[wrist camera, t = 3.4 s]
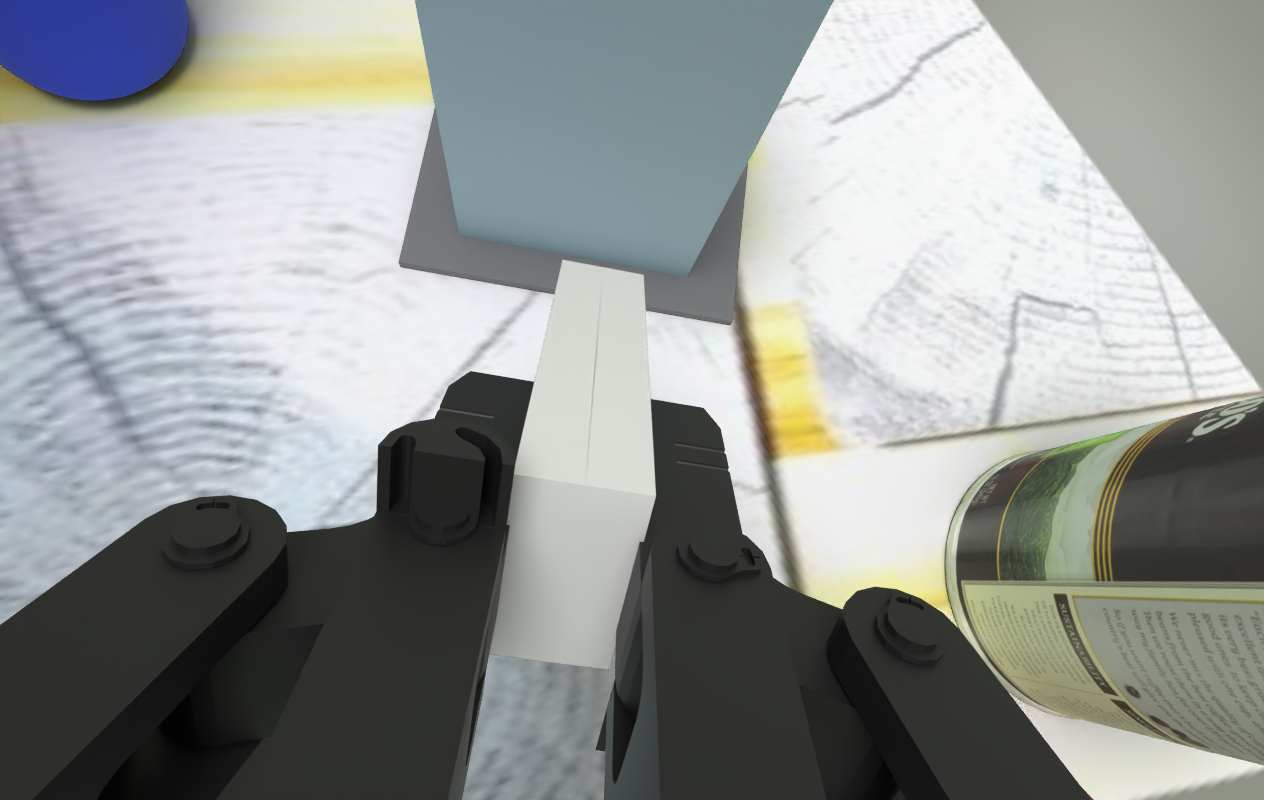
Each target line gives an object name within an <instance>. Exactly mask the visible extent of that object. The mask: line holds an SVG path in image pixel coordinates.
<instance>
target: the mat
mask: <svg viewBox="0 0 1264 800" xmlns="http://www.w3.org/2000/svg"><path fill="white" fill-rule="evenodd" d="M747 167H748V163H747V165H746V166H745V168H744V170H743V172H742V174H741V176H740V178H739V180H738V182H737V183H736V185H735V187H734V189H733V191H732V193H731V195H730V197H729V199H728V200H727V202H726V204H725V206H724V208H723V210H722V212H721V214H720V216H719V217H718V219H717V221H716V223H715V225H714V227H713V229H712V231H711V233H710V234H709V236H708V238H707V240H706V242H705V244H704V246H703V248H702V249H701V251H700V253H699V255H698V257H697V259H696V261H695V263H694V265H693V266H692V268H691V270H690V272H689V274H688V276H687V277H683V276H678V275H672V274H667V273H661V272H656V271H650V270H645V269H639V268H634V267H629V266H623V265H618V264H612V263H607V262H601V261H596V260H590V259H585V258H579V257H574V256H568V255H563V254H557V253H552V252H547V251H541V250H536V249H530V248H525V247H519V246H514V245H508V244H503V243H497V242H492V241H486V240H481V239H475V238H470V237H465V236H459V230H458V225H457V220H456V214H455V209H454V204H453V199H452V193H451V188H450V183H449V177H448V172H447V167H446V162H445V156H444V151H443V146H442V140H441V135H440V130H439V125H438V119H437V114H436V109H435V110H434V114H433V118H432V122H431V127H430V131H429V135H428V140H427V144H426V148H425V152H424V157H423V161H422V165H421V169H420V174H419V178H418V182H417V186H416V191H415V195H414V199H413V204H412V208H411V212H410V216H409V221H408V225H407V229H406V233H405V238H404V242H403V246H402V250H401V255H400V259H399V264H400V267H405V268H411V269H417V270H422V271H428V272H434V273H439V274H445V275H451V276H456V277H462V278H468V279H473V280H479V281H485V282H490V283H496V284H502V285H507V286H513V287H519V288H524V289H530V290H535V291H541V292H547V293H552V294H555V290H556V286H557V282H558V277H559V273H560V269H561V264H562V260H567V261H572V262H578V263H583V264H589V265H594V266H599V267H605V268H610V269H615V270H621V271H626V272H631V273H637V274H642V275H644V291H645V308H646V310H648V311H654V312H660V313H665V314H671V315H677V316H682V317H688V318H694V319H699V320H705V321H711V322H716V323H722V324H728V325H730V323H731V322H732V318H733V308H734V298H735V288H736V278H737V268H738V258H739V248H740V238H741V227H742V217H743V207H744V197H745V187H746V177H747Z"/></svg>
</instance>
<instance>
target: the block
mask: <svg viewBox="0 0 1264 800" xmlns="http://www.w3.org/2000/svg"><path fill="white" fill-rule="evenodd" d="M833 1H834V0H415V3H416V8H417V14H418V19H419V24H420V29H421V35H422V40H423V45H424V51H425V56H426V61H427V66H428V72H429V77H430V82H431V88H432V93H433V98H434V103H435V109H436V114H437V119H438V125H439V130H440V135H441V140H442V146H443V151H444V156H445V162H446V167H447V172H448V177H449V183H450V188H451V193H452V199H453V204H454V209H455V214H456V220H457V225H458V230H459V236H465V237H470V238H475V239H481V240H486V241H492V242H497V243H503V244H508V245H514V246H519V247H525V248H530V249H536V250H541V251H547V252H552V253H557V254H563V255H568V256H574V257H579V258H585V259H590V260H596V261H601V262H607V263H612V264H618V265H623V266H629V267H634V268H639V269H645V270H650V271H656V272H661V273H667V274H672V275H678V276H683V277H687V276H688V274H689V272H690V270H691V268H692V266H693V265H694V263H695V261H696V259H697V257H698V255H699V253H700V251H701V249H702V248H703V246H704V244H705V242H706V240H707V238H708V236H709V234H710V233H711V231H712V229H713V227H714V225H715V223H716V221H717V219H718V217H719V216H720V214H721V212H722V210H723V208H724V206H725V204H726V202H727V200H728V199H729V197H730V195H731V193H732V191H733V189H734V187H735V185H736V183H737V182H738V180H739V178H740V176H741V174H742V172H743V170H744V168H745V166H746V165H747V163H748V161H749V159H750V157H751V155H752V153H753V151H754V150H755V148H756V146H757V144H758V142H759V140H760V138H761V136H762V134H763V133H764V131H765V129H766V127H767V125H768V123H769V121H770V119H771V117H772V116H773V114H774V112H775V110H776V108H777V106H778V104H779V102H780V100H781V99H782V97H783V95H784V93H785V91H786V89H787V87H788V85H789V84H790V82H791V80H792V78H793V76H794V74H795V72H796V70H797V68H798V67H799V65H800V63H801V61H802V59H803V57H804V55H805V53H806V51H807V50H808V48H809V46H810V44H811V42H812V40H813V38H814V36H815V34H816V33H817V31H818V29H819V27H820V25H821V23H822V21H823V19H824V17H825V16H826V14H827V12H828V10H829V8H830V6H831V4H832V2H833Z"/></svg>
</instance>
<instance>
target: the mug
mask: <svg viewBox="0 0 1264 800" xmlns="http://www.w3.org/2000/svg"><path fill="white" fill-rule="evenodd" d="M187 33H188V13H187V6H186V2H185V0H0V64H1V65H2V66H3V67H4V68H6V69H7V70H8V71H10V72H11V73H13V74H14V75H16V76H17V77H19V78H21V79H22V80H24V81H26V82H27V83H29V84H31V85H33V86H35V87H37V88H39V89H41V90H44V91H47V92H49V93H52V94H55V95H58V96H62V97H66V98H71V99H78V100H91V101H97V100H110V99H115V98H120V97H124V96H128V95H131V94H134V93H136V92H138V91H141V90H143V89H145V88H147V87H149V86H150V85H152V84H153V83H155V82H157V81H158V80H159V79H161V78H162V77H163V76H164V75H165V74H166V73H167V72H168V71H169V70H170V69H171V68H172V67H173V66H174V64H175V63H176V61H177V60H178V58H179V57H180V55H181V53H182V50H183V48H184V46H185V43H186V39H187Z"/></svg>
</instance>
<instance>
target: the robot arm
mask: <svg viewBox="0 0 1264 800" xmlns="http://www.w3.org/2000/svg"><path fill="white" fill-rule="evenodd" d="M724 451H725V448H724V443H723V438H722V433H721V429H720V427H719V426H718V425H717V424H716V422H715V421H714V420H713V419H712V418H711V416H710V415H709V414H708V413H707V412H706V410H705V409H704V408H701V407H695V406H689V405H683V404H677V403H671V402H665V401H659V400H653V399H651V398H650V380H649V362H648V344H647V326H646V308H645V291H644V275H642V274H637V273H631V272H626V271H621V270H615V269H610V268H605V267H599V266H594V265H589V264H583V263H578V262H572V261H567V260H562V264H561V269H560V273H559V277H558V282H557V286H556V290H555V295H554V299H553V303H552V308H551V312H550V316H549V321H548V325H547V329H546V334H545V338H544V342H543V347H542V351H541V355H540V360H539V364H538V368H537V373H536V377H535V381H534V382H532V381H526V380H520V379H514V378H508V377H502V376H496V375H490V374H484V373H478V372H472V371H470V372H469V373H467V374H466V375H464V376H463V377H461V378H460V379H458V380H457V381H455V382H454V383H452V384H451V385H450V386H449V387H448V389H447V391H446V394H445V396H444V398H443V400H442V403H441V405H440V409H439V410H438V412H437V414H436V416H435V419H430V420H424V421H418V422H412V423H409V424H407V425H405V426H402V427H400V428H398V429H396V430H394V431H391V432H390V433H389V434H388V435H387V436H386V437H385V438H384V440H383V441H382V442H381V443H380V444H379V445H378V475H377V511H376V514H375V516H374V517H372V518H370V519H368V520H365V521H362V522H359V523H356V524H353V525H350V526H344V527H337V528H331V529H321V530H308V531H296V532H287V527H286V524H285V523H284V521H283V520H282V518H281V517H280V515H279V514H278V512H277V511H276V510H274V509H273V508H271V507H269V506H267V505H265V504H263V503H261V502H259V501H257V500H254V499H248V498H242V497H236V496H231V495H229V496H213V497H199V498H196V499H192V500H188V501H185V502H181V503H178V504H174V505H170V506H168V507H167V508H165V509H163V510H161V511H159V512H157V513H156V514H154V515H152V516H150V517H148V518H146V519H144V520H143V521H142V522H140V523H139V524H138V525H136V526H135V527H133V528H132V529H131V530H129V531H128V532H127V533H125V534H124V535H123V536H121V537H120V538H118V539H117V540H116V541H114V542H113V543H112V544H110V545H109V546H108V547H106V548H105V549H103V550H102V551H101V552H99V553H98V554H97V555H95V556H94V557H93V558H91V559H90V560H88V561H87V562H86V563H84V564H83V565H82V566H80V567H79V568H78V569H76V570H75V571H73V572H72V573H71V574H69V575H68V576H67V577H65V578H64V579H63V580H61V581H60V582H58V583H57V584H56V585H54V586H53V587H52V588H50V589H49V590H47V591H46V592H45V593H43V594H42V595H41V596H39V597H38V598H37V599H35V600H34V601H32V602H31V603H30V604H28V605H27V606H26V607H24V608H23V609H22V610H20V611H19V612H17V613H16V614H15V615H13V616H12V617H11V618H9V619H8V620H7V621H5V622H4V623H2V624H1V625H0V800H462V796H463V791H464V786H465V781H466V776H467V771H468V765H469V760H470V755H471V750H472V745H473V740H474V735H475V730H476V725H477V720H478V715H479V710H480V705H481V700H482V695H483V688H484V681H485V674H486V667H487V662H488V657H489V654H491V655H499V656H506V657H514V658H522V659H530V660H538V661H545V662H553V663H561V664H569V665H576V666H584V667H592V668H600V669H608V670H610V666H611V662H612V658H613V655H614V651H615V647H616V662H615V681H614V685H613V688H612V692H611V695H610V699H609V703H608V706H607V710H606V713H605V717H604V721H603V724H602V728H601V732H600V735H599V739H598V743H597V747H596V750H600V751H605V749H606V753H605V785H604V800H1091V799H1090V798H1089V796H1088V795H1087V794H1086V793H1085V791H1084V790H1083V789H1082V787H1081V786H1080V785H1079V784H1078V782H1077V781H1076V780H1075V778H1074V777H1073V776H1072V774H1071V773H1070V772H1069V771H1068V769H1067V768H1066V767H1065V765H1064V764H1063V763H1062V761H1061V760H1060V759H1059V758H1058V756H1057V755H1056V754H1055V752H1054V751H1053V750H1052V749H1051V747H1050V746H1049V745H1048V743H1047V742H1046V741H1045V739H1044V738H1043V737H1042V736H1041V734H1040V733H1039V732H1038V730H1037V729H1036V728H1035V726H1034V725H1033V724H1032V723H1031V721H1030V720H1029V719H1028V717H1027V716H1026V715H1025V714H1024V712H1023V711H1022V710H1021V708H1020V707H1019V706H1018V704H1017V703H1016V702H1015V701H1014V699H1013V698H1012V697H1011V695H1010V694H1009V693H1008V691H1007V690H1006V689H1005V688H1004V686H1003V685H1002V684H1001V682H1000V681H999V680H998V679H997V677H996V676H995V675H994V673H993V672H992V671H991V669H990V668H989V667H988V666H987V664H986V663H985V662H984V660H983V659H982V658H981V656H980V655H979V654H978V653H977V651H976V650H975V649H974V647H973V646H972V645H971V644H970V642H969V641H968V640H967V638H966V637H965V636H964V634H963V633H962V632H961V631H960V630H959V629H958V628H957V627H956V626H955V625H954V624H953V623H952V622H951V621H950V620H949V619H948V618H947V617H946V616H945V615H944V614H943V613H942V612H941V611H939V610H937V609H936V608H934V607H933V606H931V605H930V604H928V603H927V602H925V601H924V600H922V599H921V598H918V597H915V596H913V595H910V594H907V593H905V592H902V591H900V590H897V589H889V588H880V587H872V588H868V589H864V590H860V591H857V592H856V593H855V594H854V595H853V596H852V597H851V598H850V599H849V600H848V601H847V602H846V603H845V605H844V607H843V610H842V609H839V608H837V607H834V606H832V605H829V604H827V603H824V602H822V601H819V600H816V599H814V598H811V597H809V596H806V595H804V594H801V593H799V592H797V591H795V590H793V589H791V588H789V587H787V586H785V585H783V584H782V583H780V582H779V581H777V580H776V579H774V578H773V576H772V571H771V568H770V566H769V564H768V562H767V560H766V558H765V556H764V554H763V552H762V551H761V550H760V549H759V548H758V547H757V546H756V545H755V544H754V543H753V542H752V541H751V540H750V539H749V538H748V537H747V536H745V535H743V534H742V529H741V525H740V520H739V515H738V510H737V505H736V501H735V496H734V491H733V486H732V481H731V477H730V472H728V468H729V467H728V462H727V457H726V454H724Z"/></svg>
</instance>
